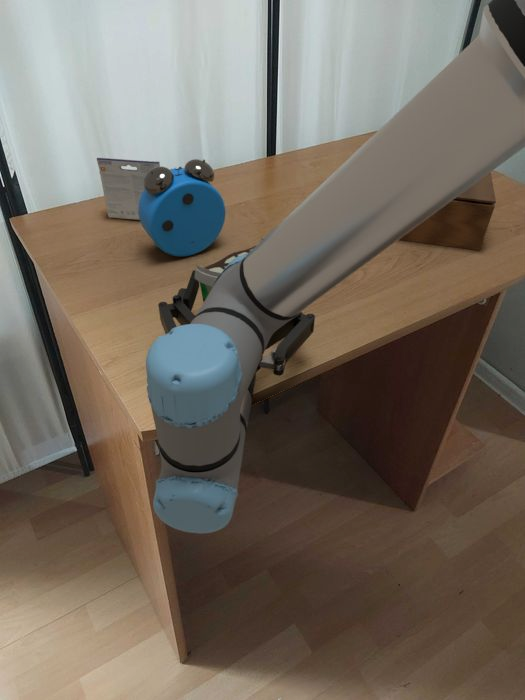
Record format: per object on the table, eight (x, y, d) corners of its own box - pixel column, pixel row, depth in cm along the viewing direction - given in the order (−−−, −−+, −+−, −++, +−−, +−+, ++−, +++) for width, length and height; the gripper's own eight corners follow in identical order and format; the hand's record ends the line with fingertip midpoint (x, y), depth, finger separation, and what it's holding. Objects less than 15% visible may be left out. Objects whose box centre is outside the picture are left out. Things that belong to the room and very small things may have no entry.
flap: (489, 170, 96) (490, 168, 96) (495, 203, 87) (495, 201, 87) (447, 165, 98) (448, 163, 97) (448, 198, 88) (449, 195, 88)
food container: (223, 346, 74) (220, 287, 67) (198, 323, 77) (193, 265, 71) (289, 311, 80) (293, 254, 73) (263, 291, 83) (265, 235, 76)
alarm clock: (212, 231, 96) (208, 149, 86) (228, 247, 92) (225, 163, 82) (143, 249, 91) (130, 164, 81) (156, 267, 88) (144, 181, 77)
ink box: (171, 217, 100) (164, 156, 92) (167, 223, 98) (160, 162, 90) (111, 211, 101) (99, 151, 93) (107, 218, 99) (94, 157, 91)
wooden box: (475, 214, 102) (490, 168, 96) (479, 250, 93) (496, 201, 87) (396, 204, 105) (406, 158, 98) (392, 238, 96) (402, 190, 89)
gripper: (115, 405, 63) (159, 296, 78) (327, 425, 61) (330, 310, 77) (103, 359, 58) (153, 252, 73) (335, 380, 56) (336, 266, 72)
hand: (244, 282), depth 75 cm, fingers open, 13 cm apart
